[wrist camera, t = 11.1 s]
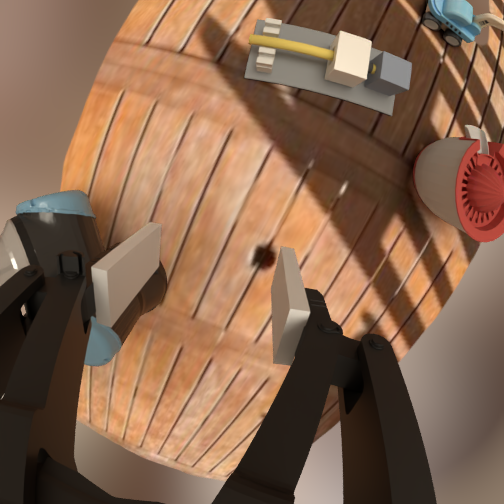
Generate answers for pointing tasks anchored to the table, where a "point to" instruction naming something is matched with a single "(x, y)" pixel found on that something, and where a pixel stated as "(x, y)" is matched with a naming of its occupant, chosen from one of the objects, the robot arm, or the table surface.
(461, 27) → the toy excavator
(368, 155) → the table surface
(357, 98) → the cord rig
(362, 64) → the sleeve
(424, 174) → the citrus juicer
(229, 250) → the table surface
